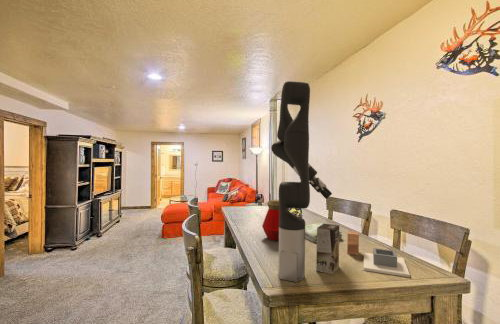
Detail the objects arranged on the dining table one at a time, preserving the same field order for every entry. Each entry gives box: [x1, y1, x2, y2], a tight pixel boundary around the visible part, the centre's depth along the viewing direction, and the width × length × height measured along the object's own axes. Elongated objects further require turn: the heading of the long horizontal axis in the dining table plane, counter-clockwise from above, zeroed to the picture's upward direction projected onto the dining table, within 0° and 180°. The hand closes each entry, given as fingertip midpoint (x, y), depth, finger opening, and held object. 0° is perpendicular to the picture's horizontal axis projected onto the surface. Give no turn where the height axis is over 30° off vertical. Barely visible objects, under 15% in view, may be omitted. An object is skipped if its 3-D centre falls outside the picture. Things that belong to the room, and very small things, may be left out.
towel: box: [305, 222, 343, 243], centre depth 147 cm, size 18×21×5 cm
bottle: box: [262, 199, 279, 242], centre depth 141 cm, size 16×14×20 cm
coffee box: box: [315, 223, 340, 275], centre depth 102 cm, size 9×6×16 cm
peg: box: [346, 230, 360, 256], centre depth 120 cm, size 4×4×9 cm
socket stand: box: [363, 247, 411, 278], centre depth 107 cm, size 18×15×5 cm
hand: (329, 196), depth 124 cm, fingers open, 8 cm apart
